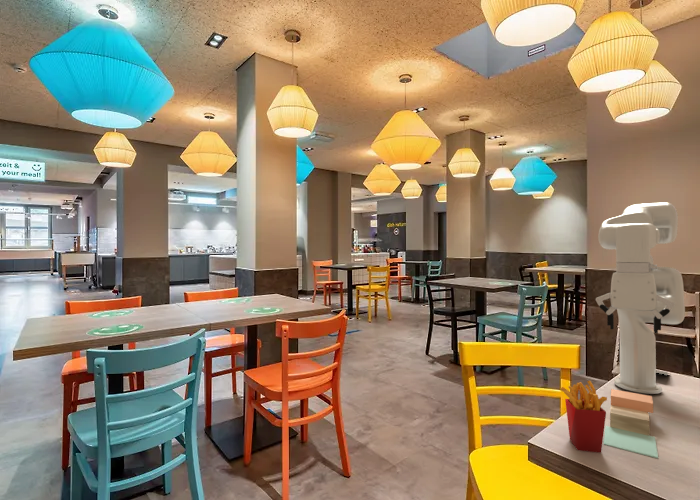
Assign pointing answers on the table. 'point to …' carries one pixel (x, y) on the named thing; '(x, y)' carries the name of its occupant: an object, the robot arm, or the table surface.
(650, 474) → the table surface
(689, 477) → the table surface
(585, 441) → the french fries
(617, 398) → the card
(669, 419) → the table surface
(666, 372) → the smartphone
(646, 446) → the mat
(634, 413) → the sheet
